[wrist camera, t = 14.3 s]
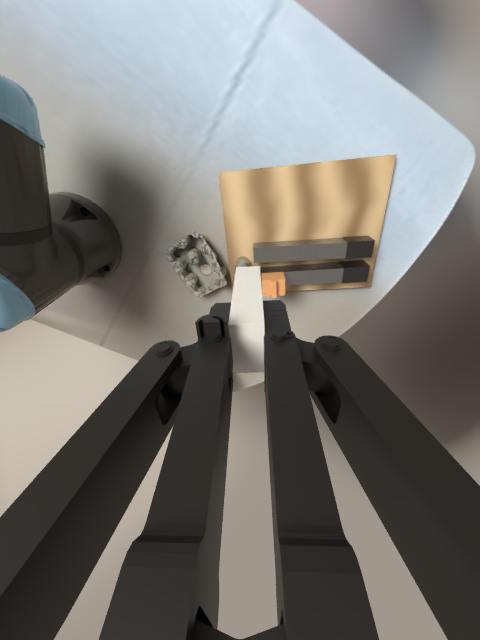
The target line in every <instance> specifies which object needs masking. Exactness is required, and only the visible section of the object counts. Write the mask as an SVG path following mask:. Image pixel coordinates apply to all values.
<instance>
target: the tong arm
mask: <svg viewBox="0 0 480 640" xmlns="http://www.w3.org/2000/svg"><path fill="white" fill-rule="evenodd" d="M374 244H375V240H374V239H373V238H371V237H370V236H351V237H343V238H329V239H312V240H295V241H278V242H261V243H253V256H254V263H265V262H284V261H304V260H323V259H342V258H345V259H356V258H372V254H373V249H374Z"/></svg>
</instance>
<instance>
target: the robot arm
mask: <svg viewBox="0 0 480 640" xmlns="http://www.w3.org/2000/svg"><path fill="white" fill-rule="evenodd" d="M43 148H45V143H44V141H43V140H42V138H41V132H40V126H39V120H38V114H37V109H36V106H35V104H34V102H33V100H32V98H31V97H30V95H29V94H28V93H27V92H26V91H25V90H24V89H23V88H22V87H21V86H20V85H18V84H17V83H15V82H14V81H12V80H10V79H8V78H6V77H4V76H3V75H1V74H0V332H3V331H6V330H9V329H11V328H13V327H15V326H16V325H18V324H20V323H21V322H23V321H26V320H29V319H31V318H32V317H33V316H34V315H35V314H37V313H38V312H40V311H41V310H42V309H44V308H45V307H46V306H48V305H49V304H51V303H52V302H53V301H55V300H56V299H57V298H59V297H60V296H62V295H63V294H64V293H66V292H67V291H68V290H70V289H71V288H72V287H74V286H76V285H82V284H87V283H93V282H97V281H100V280H102V279H104V278H105V277H107V276H108V275H109V274H111V273H112V272H113V271H114V270H115V269H116V268H117V266H118V264H119V262H120V259H121V242H120V238H119V235H118V232H117V230H116V228H115V226H114V224H113V223H112V221H111V220H110V219H109V217H108V216H107V215H106V214H105V213H104V212H103V211H102V210H101V209H100V208H99V207H98V206H97V205H95V204H94V203H93V202H91V201H90V200H88V199H86V198H84V197H82V196H79V195H77V194H73V193H67V192H59V193H52V194H49V192H48V183H47V175H46V166H45V158H44V149H43ZM195 324H196V329H197V335H198V341H197V342H196V343H194V344H192V345H189V346H185V347H181V348H180V345H179V344H178V343H177V342H175V341H163V342H159V343H157V344H155V345H154V346H152V347H151V348H150V349H149V350H148V351H147V353H146V354H145V355H144V356H143V357H142V358H141V359H140V360H139V362H138V363H137V364H136V365H135V366H134V367H133V368H132V369H131V371H130V372H129V373H128V374H127V375H126V376H125V378H123V380H122V381H121V382H120V383H119V384H118V385H117V386H116V387H115V389H114V390H113V391H112V392H111V393H110V394H109V395H108V396H107V398H106V399H105V400H104V401H103V402H102V403H101V404H100V406H99V407H98V408H97V409H96V410H95V411H94V412H93V413H92V415H91V416H90V417H89V418H88V419H87V420H86V421H85V422H84V424H83V425H82V426H81V427H80V428H79V429H78V430H77V432H76V433H75V434H74V435H73V436H72V437H71V438H70V439H69V441H68V442H67V443H66V444H65V445H64V446H63V447H62V448H61V449H60V451H59V452H58V453H57V454H56V455H55V456H54V457H53V458H52V460H51V461H50V462H49V463H48V464H47V465H46V466H45V467H44V469H43V470H42V471H41V472H40V473H39V474H38V475H37V476H36V478H35V479H34V480H33V481H32V482H31V483H30V484H29V485H28V487H27V488H26V489H25V490H24V491H23V492H22V493H21V495H20V496H19V497H18V498H17V499H16V500H15V501H14V503H13V504H12V505H11V506H10V507H9V508H8V509H7V510H6V511H5V513H4V514H3V515H2V516H1V517H0V640H54V638H55V636H56V635H57V633H58V631H59V630H60V628H61V626H62V624H63V623H64V621H65V619H66V618H67V616H68V614H69V612H70V610H71V609H72V607H73V605H74V603H75V601H76V599H77V598H78V596H79V594H80V592H81V591H82V589H83V587H84V585H85V583H86V582H87V580H88V578H89V576H90V574H91V572H92V571H93V569H94V567H95V565H96V564H97V562H98V560H99V558H100V556H101V555H102V553H103V551H104V549H105V547H106V546H107V544H108V542H109V540H110V538H111V537H112V535H113V533H114V531H115V529H116V527H117V525H118V524H119V522H120V520H121V519H122V517H123V515H124V513H125V511H126V509H127V508H128V506H129V504H130V502H131V500H132V499H133V497H134V495H135V493H136V491H137V490H138V488H139V486H140V484H141V482H142V480H143V479H144V477H145V475H146V473H147V472H148V470H149V468H150V466H151V464H152V463H153V461H154V459H155V457H156V455H157V454H158V452H159V450H160V448H161V446H162V444H163V443H164V441H165V439H166V437H167V435H168V434H169V432H170V430H171V428H172V427H173V429H172V433H171V436H170V440H169V443H168V447H167V450H166V454H165V457H164V461H163V464H162V468H161V471H160V475H159V479H158V482H157V485H156V489H155V492H154V496H153V499H152V503H151V507H150V510H149V514H148V517H147V521H146V524H145V527H144V530H143V531H142V533H141V535H140V536H139V537H138V538H137V539H136V540H134V541H133V542H132V544H131V546H130V548H129V550H128V551H127V554H126V557H125V559H124V562H123V564H122V567H121V570H120V574H119V577H118V580H117V583H116V586H115V590H114V594H113V596H112V600H111V602H110V606H109V609H108V612H107V615H106V619H105V621H104V625H103V628H102V631H101V634H100V637H99V640H379V637H378V634H377V630H376V626H375V622H374V618H373V614H372V611H371V607H370V603H369V600H368V596H367V592H366V588H365V584H364V581H363V577H362V573H361V570H360V566H359V563H358V560H357V557H356V555H355V552H354V550H353V548H352V546H351V545H350V544H349V542H348V541H347V540H346V537H345V535H344V532H343V529H342V525H341V522H340V517H339V513H338V509H337V505H336V501H335V496H334V493H333V488H332V484H331V481H330V476H329V472H328V468H327V464H326V459H325V455H324V451H323V447H322V443H321V439H320V435H319V431H318V427H317V422H316V418H315V414H314V410H313V406H312V402H311V398H310V395H311V397H312V399H313V400H314V402H315V404H316V406H317V408H318V409H319V411H320V413H321V415H322V416H323V418H324V420H325V422H326V424H327V425H328V427H329V429H330V431H331V432H332V434H333V436H334V438H335V440H336V441H337V443H338V445H339V446H340V448H341V450H342V452H343V454H344V456H345V457H346V459H347V461H348V463H349V464H350V466H351V468H352V470H353V471H354V473H355V475H356V477H357V478H358V480H359V482H360V484H361V486H362V487H363V489H364V491H365V493H366V494H367V496H368V498H369V500H370V502H371V504H372V505H373V507H374V509H375V511H376V512H377V514H378V516H379V518H380V520H381V521H382V523H383V525H384V527H385V529H386V530H387V532H388V534H389V536H390V537H391V539H392V541H393V543H394V545H395V546H396V548H397V550H398V552H399V553H400V555H401V557H402V559H403V561H404V562H405V564H406V566H407V568H408V569H409V571H410V573H411V575H412V576H413V578H414V580H415V582H416V584H417V585H418V587H419V589H420V591H421V592H422V594H423V596H424V598H425V600H426V601H427V603H428V605H429V607H430V609H431V610H432V612H433V614H434V616H435V617H436V619H437V621H438V623H439V624H440V626H441V628H442V630H443V632H444V633H445V635H446V637H447V639H448V640H480V486H479V485H478V484H477V483H476V482H475V480H474V479H473V478H472V477H471V476H470V475H469V474H468V473H467V472H466V471H465V470H464V469H463V468H462V466H460V465H459V463H458V462H457V461H456V460H455V459H454V458H453V457H452V456H451V455H450V454H449V452H448V451H447V450H446V449H445V448H444V447H443V446H442V445H441V444H440V443H439V442H438V441H437V440H436V438H435V437H434V436H433V435H432V434H431V433H430V432H429V431H428V430H427V429H426V428H425V426H424V425H423V424H422V423H421V422H420V421H419V420H418V419H417V418H416V417H415V416H414V415H413V414H412V413H411V411H410V410H409V409H408V408H407V407H406V406H405V405H404V404H403V403H402V402H401V401H400V399H399V398H398V397H397V396H396V395H395V394H394V393H393V392H392V391H391V390H390V389H389V388H388V387H387V385H386V384H384V382H383V381H382V380H381V379H380V378H379V377H378V376H377V375H376V374H375V373H374V371H373V370H372V369H371V368H370V367H369V366H368V365H367V364H366V363H365V362H364V361H363V360H362V359H361V357H360V356H359V355H358V354H357V353H356V352H355V351H354V350H353V349H352V348H351V347H350V346H349V345H348V343H347V342H345V341H344V340H343V339H341V338H338V337H335V336H322V337H319V338H317V339H316V340H315V343H311V342H306V341H302V340H300V339H298V338H296V336H295V334H294V333H293V332H292V331H291V328H290V323H289V319H288V316H287V311H286V306H285V304H284V303H283V302H282V301H281V300H272V301H263V300H262V287H261V275H260V266H250V267H236V272H235V279H234V286H233V294H232V301H231V303H216V304H215V305H214V306H212V307H211V310H210V314H209V315H205V316H202V317H201V318H199V319H198V320H197V321H196V323H195ZM232 370H233V373H246V372H265V395H266V413H267V430H268V447H269V465H270V482H271V499H272V517H273V534H274V551H275V568H276V595H277V616H278V626H277V627H274V628H271V629H269V630H266V631H263V632H261V633H258V634H256V635H253V636H250V637H248V638H245V639H235V638H233V637H231V636H229V635H227V634H225V633H223V632H221V631H219V630H217V624H218V608H219V560H220V547H221V534H222V521H223V507H224V494H225V481H226V467H227V455H228V441H229V428H230V415H231V402H232V389H233V376H232ZM309 393H310V394H309ZM173 425H174V426H173Z"/></svg>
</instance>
